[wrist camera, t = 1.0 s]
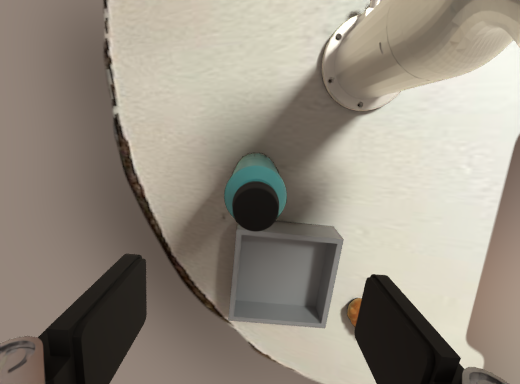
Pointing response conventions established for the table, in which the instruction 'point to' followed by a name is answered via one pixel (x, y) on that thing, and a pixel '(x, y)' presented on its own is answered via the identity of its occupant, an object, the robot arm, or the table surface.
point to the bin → (284, 274)
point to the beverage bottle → (255, 193)
